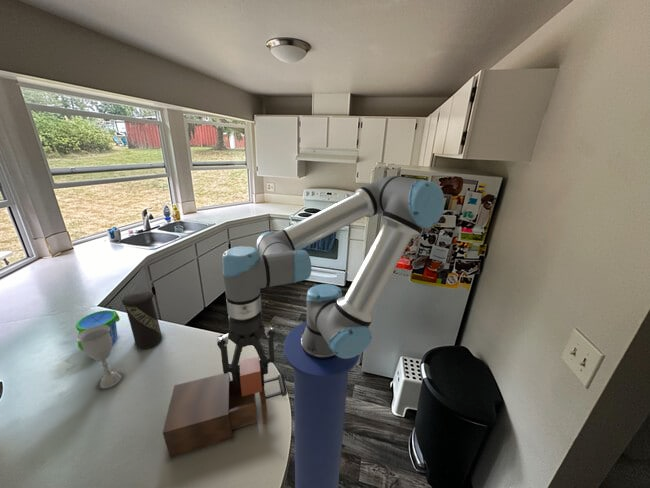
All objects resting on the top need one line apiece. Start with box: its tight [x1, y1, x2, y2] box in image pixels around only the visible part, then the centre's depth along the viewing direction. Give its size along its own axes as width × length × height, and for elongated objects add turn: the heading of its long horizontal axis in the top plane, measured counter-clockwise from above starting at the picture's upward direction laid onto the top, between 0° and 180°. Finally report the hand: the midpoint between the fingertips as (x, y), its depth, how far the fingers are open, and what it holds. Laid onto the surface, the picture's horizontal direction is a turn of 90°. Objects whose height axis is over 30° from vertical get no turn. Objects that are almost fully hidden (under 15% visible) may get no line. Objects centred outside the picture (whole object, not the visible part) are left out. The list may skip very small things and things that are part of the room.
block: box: [238, 356, 262, 397], centre depth 65 cm, size 5×5×7 cm
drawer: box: [229, 373, 288, 431], centre depth 68 cm, size 18×11×7 cm, turn 109°
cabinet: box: [162, 372, 233, 458], centre depth 64 cm, size 14×13×9 cm
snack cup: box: [75, 309, 121, 351], centre depth 89 cm, size 16×10×10 cm
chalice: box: [76, 325, 122, 389], centre depth 73 cm, size 7×7×18 cm
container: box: [121, 289, 163, 350], centre depth 88 cm, size 9×9×20 cm
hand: (251, 385), depth 66 cm, fingers closed on block, 5 cm apart
